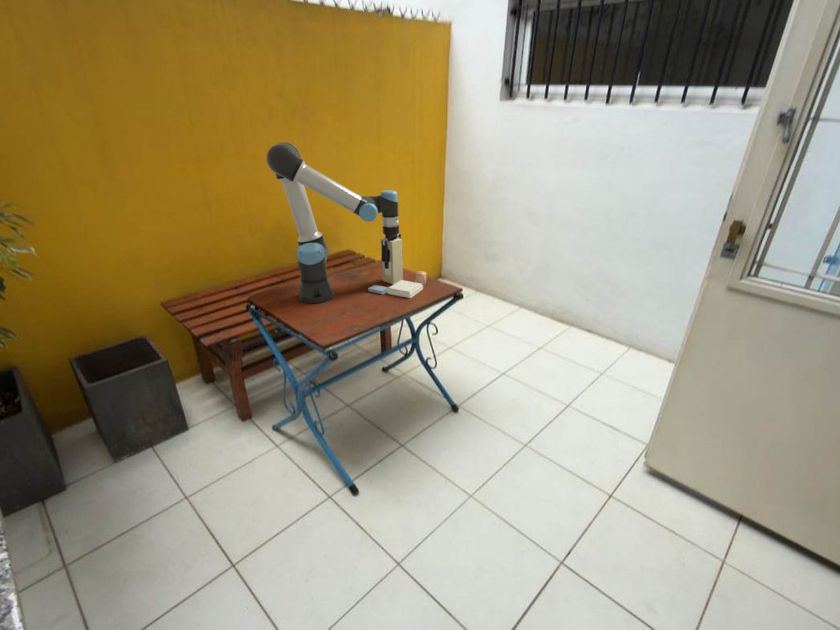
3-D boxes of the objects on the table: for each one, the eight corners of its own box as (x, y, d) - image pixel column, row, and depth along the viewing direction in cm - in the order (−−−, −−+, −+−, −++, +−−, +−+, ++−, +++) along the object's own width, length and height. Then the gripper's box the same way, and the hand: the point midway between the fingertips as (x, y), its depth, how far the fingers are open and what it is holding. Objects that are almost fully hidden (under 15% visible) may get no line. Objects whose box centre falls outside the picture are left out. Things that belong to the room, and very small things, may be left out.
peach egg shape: (413, 285, 205) (413, 273, 202) (419, 282, 209) (418, 270, 206) (423, 287, 203) (423, 275, 200) (428, 283, 207) (428, 271, 204)
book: (368, 292, 200) (368, 288, 199) (374, 288, 204) (374, 284, 203) (382, 295, 196) (382, 291, 195) (388, 291, 200) (388, 287, 199)
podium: (387, 293, 196) (387, 288, 195) (400, 284, 206) (400, 279, 205) (410, 298, 191) (410, 292, 190) (423, 289, 201) (423, 283, 199)
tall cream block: (404, 280, 211) (403, 238, 202) (393, 284, 206) (391, 242, 197) (393, 276, 216) (391, 235, 207) (382, 281, 211) (379, 239, 202)
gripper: (385, 231, 189) (388, 279, 199) (409, 221, 205) (410, 266, 215) (371, 229, 192) (374, 277, 202) (395, 219, 209) (397, 264, 219)
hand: (393, 271), depth 209 cm, fingers closed on tall cream block, 8 cm apart
